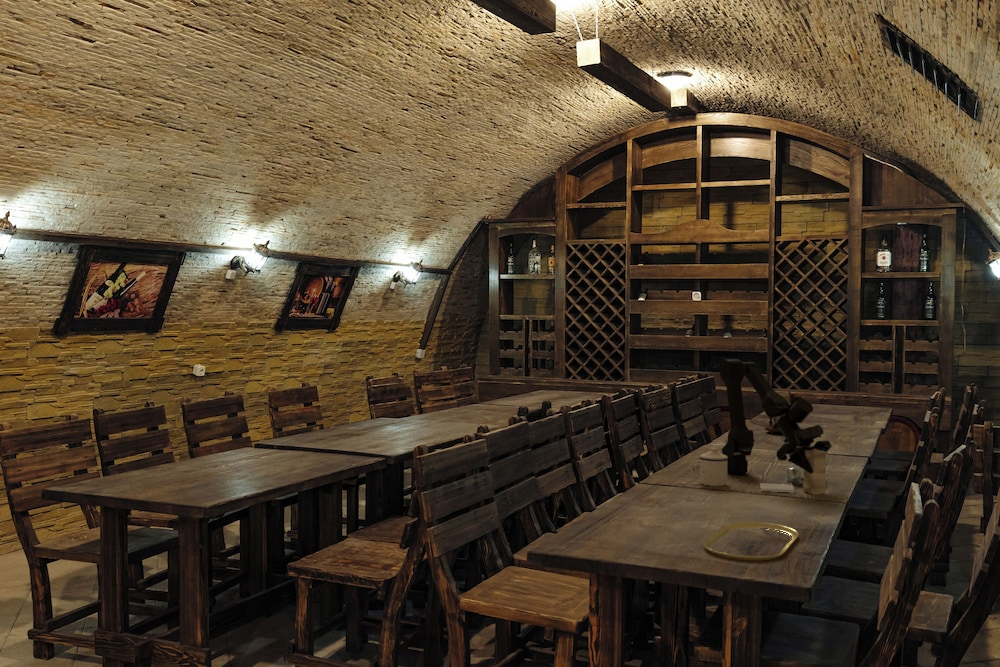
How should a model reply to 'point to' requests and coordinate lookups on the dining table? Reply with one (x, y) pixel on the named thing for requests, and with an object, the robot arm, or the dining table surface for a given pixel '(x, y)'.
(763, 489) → the tile
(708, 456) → the teacup with lid
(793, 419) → the robot arm
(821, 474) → the oak block
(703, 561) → the dining table surface
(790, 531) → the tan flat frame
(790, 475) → the grey cylinder
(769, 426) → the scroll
